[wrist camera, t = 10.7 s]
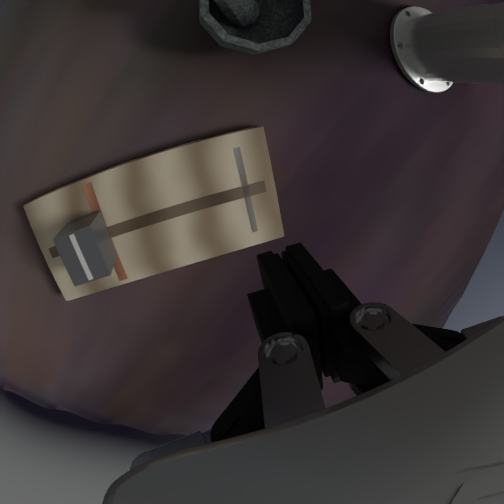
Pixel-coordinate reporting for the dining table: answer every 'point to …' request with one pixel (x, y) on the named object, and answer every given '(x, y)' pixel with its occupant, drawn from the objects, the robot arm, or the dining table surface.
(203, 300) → the dining table surface
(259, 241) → the fader board
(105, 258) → the fader knob
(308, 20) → the mortar and pestle
